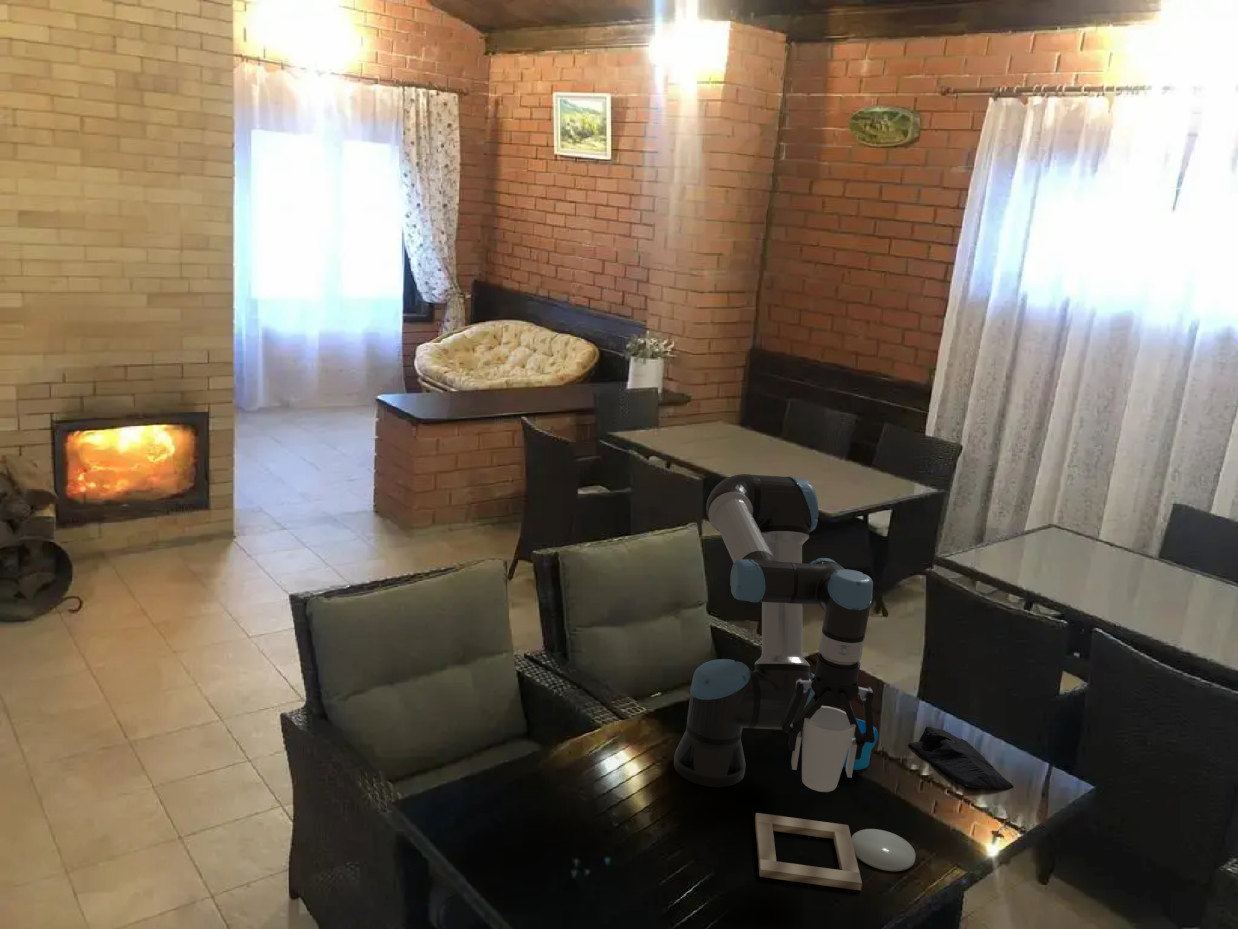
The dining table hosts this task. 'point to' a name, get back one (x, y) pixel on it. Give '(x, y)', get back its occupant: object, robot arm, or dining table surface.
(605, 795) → the dining table surface
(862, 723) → the mug
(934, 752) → the black fabric pouch
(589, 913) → the dining table surface
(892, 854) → the pale grey-green round part
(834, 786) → the foam cup
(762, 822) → the birch pocket board
